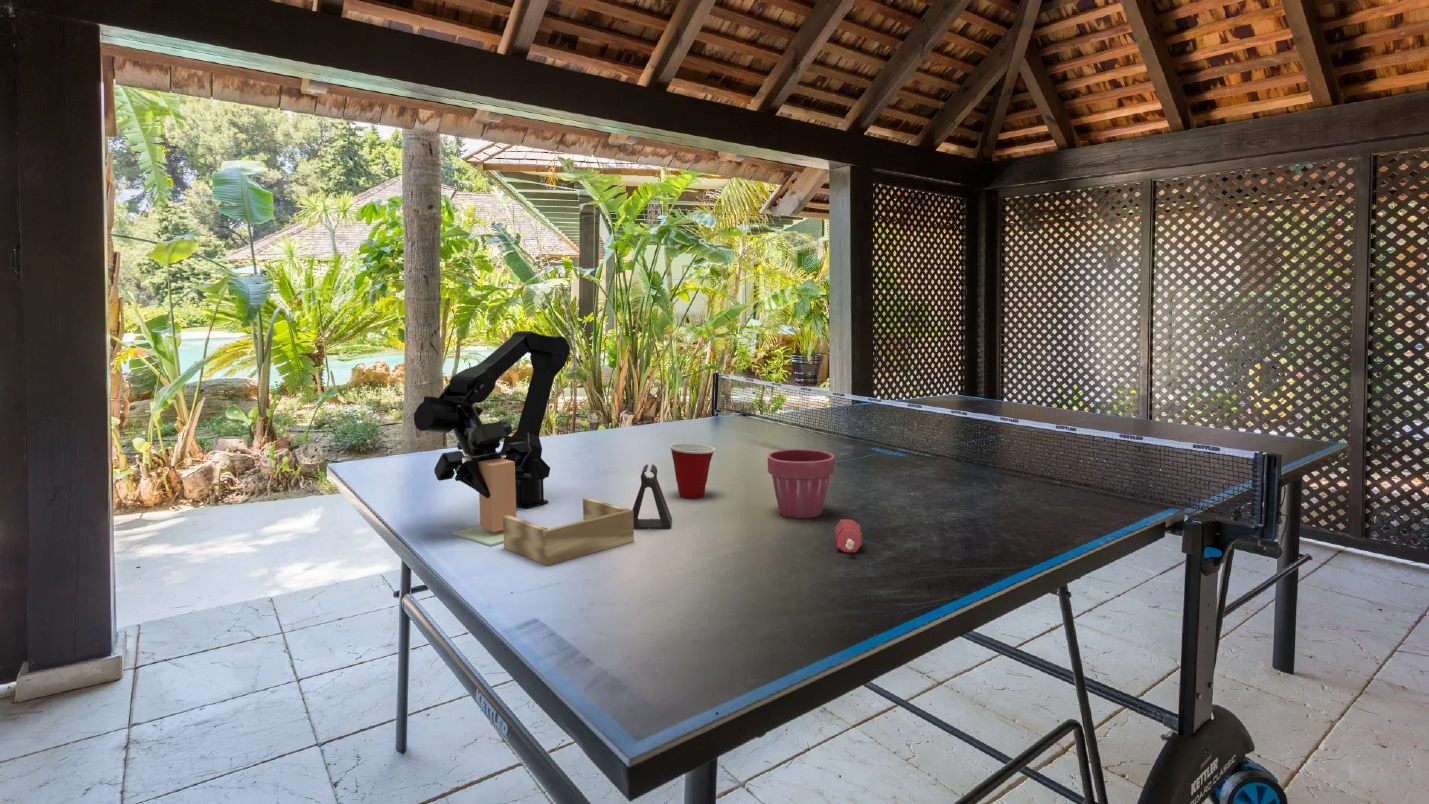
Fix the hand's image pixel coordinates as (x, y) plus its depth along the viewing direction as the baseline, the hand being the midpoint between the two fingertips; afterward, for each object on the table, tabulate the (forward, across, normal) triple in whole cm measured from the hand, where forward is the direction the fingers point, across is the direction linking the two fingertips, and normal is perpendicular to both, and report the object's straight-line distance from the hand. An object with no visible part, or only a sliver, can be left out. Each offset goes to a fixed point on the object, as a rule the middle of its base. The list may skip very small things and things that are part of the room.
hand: (501, 494), depth 149 cm
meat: (+44, +40, -32) cm, 67 cm away
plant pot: (+29, +53, -17) cm, 63 cm away
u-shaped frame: (+16, +5, -4) cm, 17 cm away
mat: (+5, 0, +7) cm, 8 cm away
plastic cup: (+9, +48, +3) cm, 49 cm away
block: (+4, 0, +6) cm, 7 cm away
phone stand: (+17, +24, -5) cm, 30 cm away
